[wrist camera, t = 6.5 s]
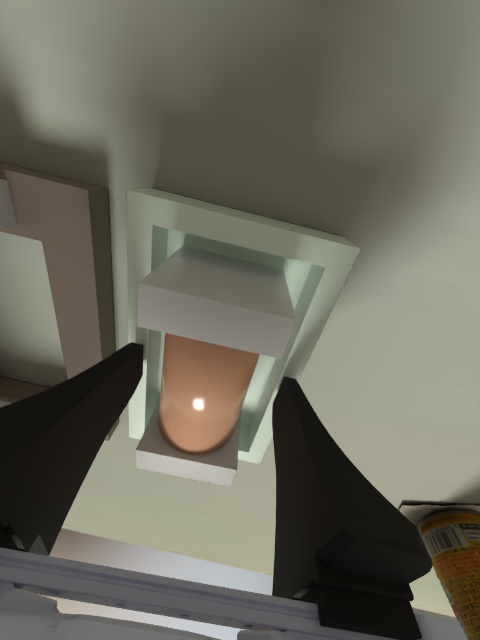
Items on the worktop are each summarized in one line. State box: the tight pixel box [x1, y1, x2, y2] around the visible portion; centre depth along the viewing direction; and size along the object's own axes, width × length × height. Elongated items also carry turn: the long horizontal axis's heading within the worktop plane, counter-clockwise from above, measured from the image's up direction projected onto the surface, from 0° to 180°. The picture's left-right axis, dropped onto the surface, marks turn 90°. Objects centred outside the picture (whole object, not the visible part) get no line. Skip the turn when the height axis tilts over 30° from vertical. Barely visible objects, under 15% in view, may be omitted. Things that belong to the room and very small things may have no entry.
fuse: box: [136, 246, 296, 486], centre depth 12 cm, size 10×5×5 cm, turn 167°
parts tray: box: [126, 188, 361, 464], centre depth 14 cm, size 15×9×2 cm, turn 167°
